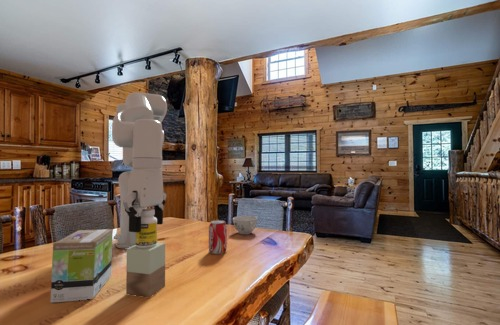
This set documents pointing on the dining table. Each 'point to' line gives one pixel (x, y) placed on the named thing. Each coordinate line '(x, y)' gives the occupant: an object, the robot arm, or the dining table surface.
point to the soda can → (217, 237)
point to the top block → (145, 259)
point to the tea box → (81, 265)
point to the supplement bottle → (147, 229)
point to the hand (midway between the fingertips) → (146, 227)
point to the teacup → (245, 224)
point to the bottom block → (145, 283)
